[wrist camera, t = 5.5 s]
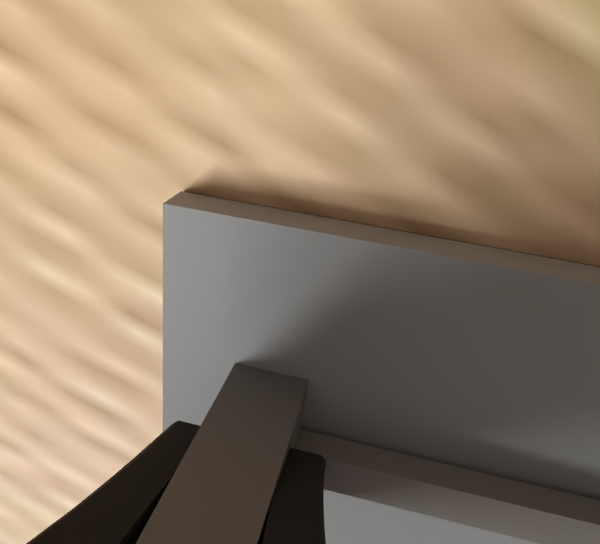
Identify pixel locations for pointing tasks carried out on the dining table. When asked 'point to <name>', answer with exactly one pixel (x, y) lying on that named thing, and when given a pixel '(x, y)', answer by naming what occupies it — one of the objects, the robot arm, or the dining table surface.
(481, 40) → the dining table surface
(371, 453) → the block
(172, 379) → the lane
